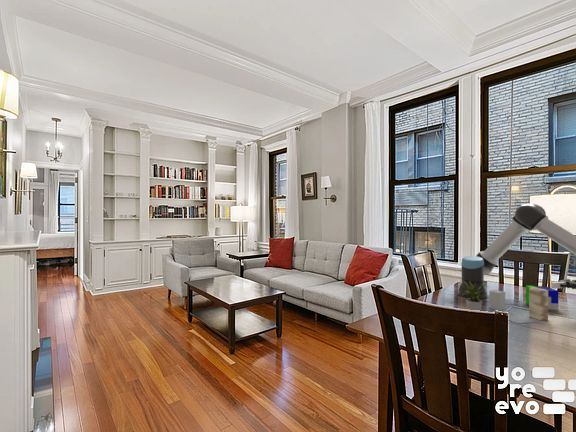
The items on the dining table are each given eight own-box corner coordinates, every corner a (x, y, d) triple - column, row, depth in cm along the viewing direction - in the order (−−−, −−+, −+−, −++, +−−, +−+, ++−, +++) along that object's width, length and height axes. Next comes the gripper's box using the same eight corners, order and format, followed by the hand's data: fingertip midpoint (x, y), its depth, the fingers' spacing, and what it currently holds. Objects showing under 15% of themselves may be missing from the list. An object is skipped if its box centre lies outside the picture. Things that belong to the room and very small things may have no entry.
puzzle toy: (558, 309, 159) (558, 290, 159) (536, 308, 161) (536, 290, 161) (546, 304, 169) (546, 286, 169) (525, 303, 171) (525, 285, 171)
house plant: (449, 309, 161) (449, 278, 161) (468, 306, 166) (468, 276, 166) (474, 317, 148) (474, 284, 148) (494, 314, 153) (494, 281, 152)
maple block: (537, 316, 150) (537, 287, 149) (548, 319, 145) (548, 290, 144) (529, 316, 149) (529, 288, 149) (539, 320, 144) (539, 290, 144)
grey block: (489, 307, 164) (489, 290, 164) (495, 306, 166) (495, 289, 166) (499, 310, 159) (499, 293, 159) (505, 309, 161) (505, 292, 161)
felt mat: (521, 315, 150) (521, 315, 150) (539, 322, 142) (539, 321, 142) (500, 317, 149) (500, 316, 149) (517, 323, 140) (517, 323, 140)
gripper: (609, 293, 145) (567, 296, 141) (578, 287, 158) (539, 290, 154) (608, 278, 145) (566, 280, 141) (578, 273, 158) (539, 275, 154)
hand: (552, 285), depth 147 cm, fingers closed
